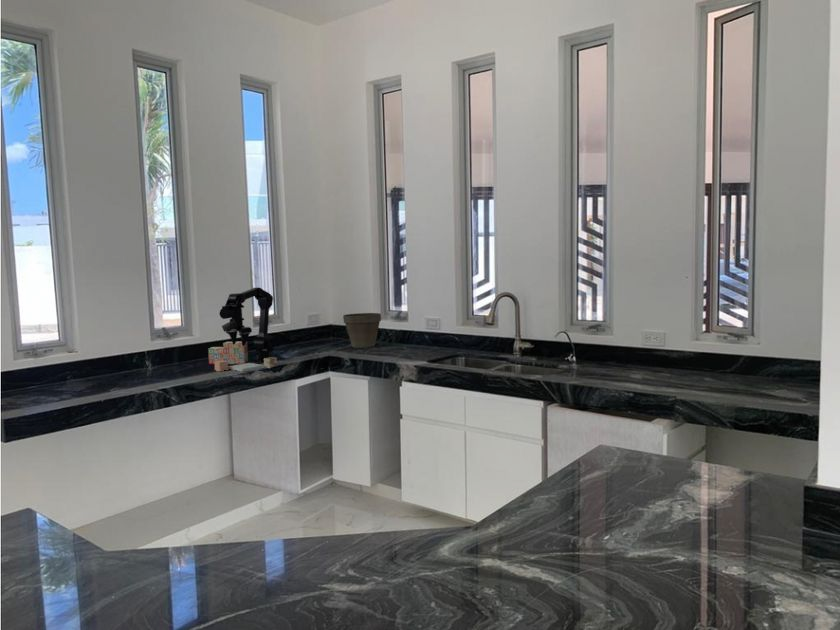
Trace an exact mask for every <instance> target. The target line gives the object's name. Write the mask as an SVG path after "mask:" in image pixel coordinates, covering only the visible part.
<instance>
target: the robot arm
mask: <svg viewBox="0 0 840 630" xmlns="http://www.w3.org/2000/svg"><path fill="white" fill-rule="evenodd" d="M251 298H254V299H256V300H257V305H258V307H259V322H258V323H259V325H258V334H257V335H256V336H254V342H253V343H254V347H255V350H256V352H257V353H258V360H257V363H263V364H264V358H269V357H272V352H273V351H274V349H275V347H274V346H273V344H272V343H271V339H270V336H269V334H268V333H269V332H268V331H269V320H270V319H269V318H270V317H269V316H270V309H271V307H272V306H273V301H274V297H273V294H271V293H269V292H268V291H266V290H265V289H263V288H261V287H253V288H250V289H248V290H245V291H243V292H238V293H237V292H235V293H230V294H228V297H227V300H226V302H225V305H222V307H221V309H220V311H219V316H220V318H221V319H223V320H225V319H229V321H228V322H226V323H225V324H223V325H221V328H222V331H223V332H224V333H226V334H228V336H229V337H230V340H231V342H232V343H233V344H235V343H236V342H237V337H238V336H240V338H241V339H240V341H242V346H244V345H245V343H246V342H248V337H249V336H250V334H251V333H252V332H253V330H252V328H251V326H245V325H244V323H243V322H244V320H245V317H243V308H245V305H243V304H244V303H245V302H246V300H248V299H251ZM237 335H238V336H237Z"/></svg>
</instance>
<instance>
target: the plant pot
mask: <svg viewBox="0 0 840 630" xmlns="http://www.w3.org/2000/svg"><path fill="white" fill-rule="evenodd" d="M381 321H382V314H381V313H380V312H379V313H378V312H362V313H360V312H359V313H349V314H348V313H347V314H343V323H344V324H345V327H346V331H347V334H348V337H349V340H350V344H351V347H352V348H356V349H358V348H359V349H362V348H363V349H364V348H372V347H375V345H376V341H377V337H378V332H379V327H380V322H381Z"/></svg>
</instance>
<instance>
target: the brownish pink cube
mask: <svg viewBox="0 0 840 630" xmlns="http://www.w3.org/2000/svg"><path fill="white" fill-rule="evenodd" d="M214 363H215V364H214V371H215V370H216V371H215V372H219V371H221V372H225V371H224V370H227V371H229V369H228V366H229V364H228V361H216V362H214Z"/></svg>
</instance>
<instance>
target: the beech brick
mask: <svg viewBox="0 0 840 630" xmlns="http://www.w3.org/2000/svg"><path fill="white" fill-rule="evenodd" d="M277 359H278V358H277V357H272V356H271V357H269V358H264V363H263V365H264V368H268V369H273V367H278V360H277Z"/></svg>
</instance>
